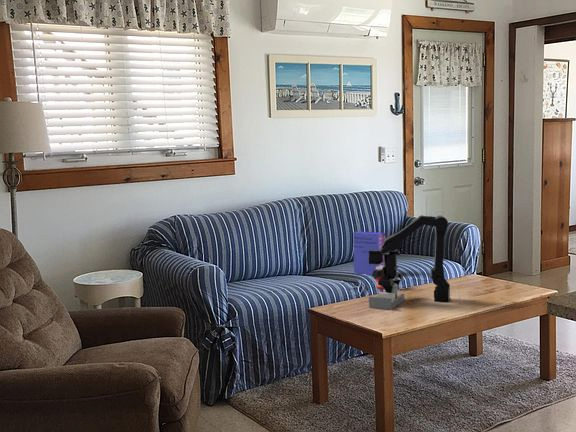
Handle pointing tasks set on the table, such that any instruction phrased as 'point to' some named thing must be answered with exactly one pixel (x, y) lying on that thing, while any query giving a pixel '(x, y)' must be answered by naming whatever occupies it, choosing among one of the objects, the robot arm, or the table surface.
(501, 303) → the table surface
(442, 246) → the robot arm
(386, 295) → the plate
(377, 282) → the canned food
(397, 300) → the pusher lane
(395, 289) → the jar
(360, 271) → the cereal box
